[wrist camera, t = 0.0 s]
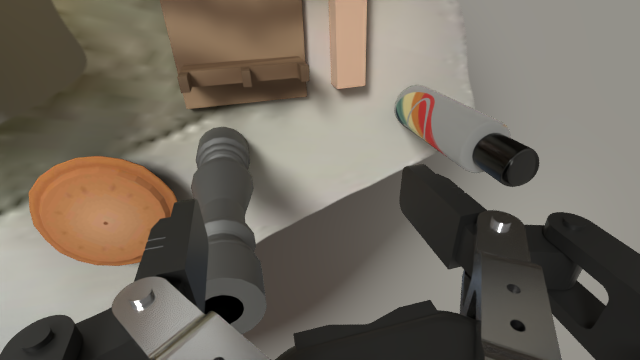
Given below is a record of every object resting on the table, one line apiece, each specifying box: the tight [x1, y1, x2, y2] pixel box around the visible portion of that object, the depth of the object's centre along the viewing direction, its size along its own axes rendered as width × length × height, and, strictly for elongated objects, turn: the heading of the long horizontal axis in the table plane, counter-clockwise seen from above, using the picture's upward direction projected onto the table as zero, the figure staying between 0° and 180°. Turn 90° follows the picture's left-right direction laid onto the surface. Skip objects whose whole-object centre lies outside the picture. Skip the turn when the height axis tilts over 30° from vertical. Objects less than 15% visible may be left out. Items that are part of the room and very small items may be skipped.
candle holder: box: [191, 127, 267, 334], centre depth 31 cm, size 6×6×25 cm
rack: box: [160, 0, 309, 109], centre depth 31 cm, size 20×14×7 cm
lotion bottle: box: [395, 85, 539, 187], centre depth 36 cm, size 6×6×20 cm
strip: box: [329, 0, 367, 89], centre depth 35 cm, size 18×4×3 cm, turn 3°
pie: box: [29, 156, 178, 266], centre depth 39 cm, size 16×16×5 cm
